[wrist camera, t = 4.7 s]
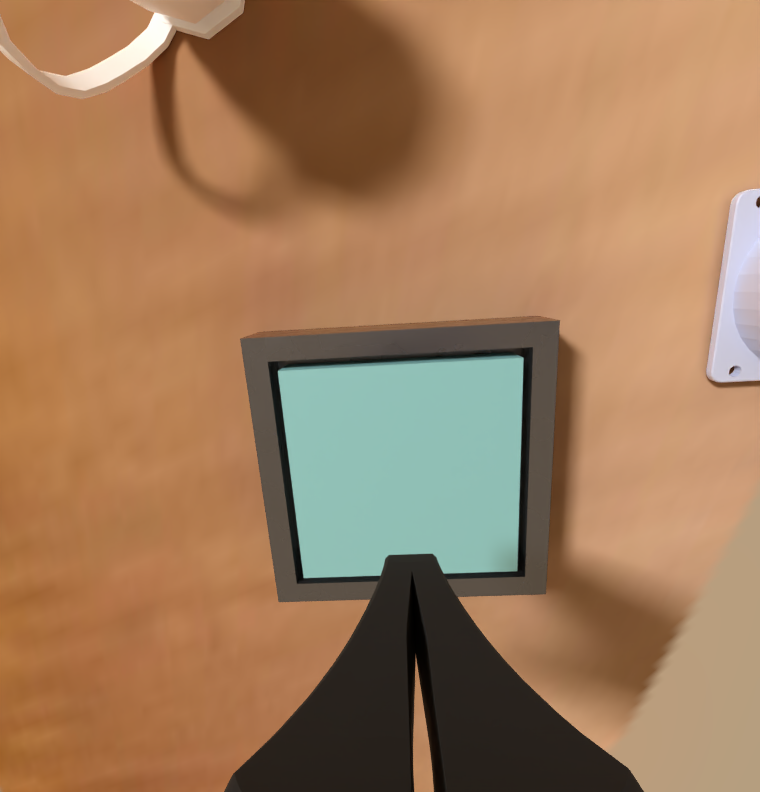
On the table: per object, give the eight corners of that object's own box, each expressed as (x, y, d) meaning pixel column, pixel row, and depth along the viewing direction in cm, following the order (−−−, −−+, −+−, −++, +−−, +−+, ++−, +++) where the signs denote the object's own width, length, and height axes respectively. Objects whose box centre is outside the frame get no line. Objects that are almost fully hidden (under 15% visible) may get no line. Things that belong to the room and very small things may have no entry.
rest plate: (513, 352, 18) (523, 357, 17) (508, 551, 21) (517, 571, 19) (286, 364, 18) (277, 371, 17) (309, 557, 21) (303, 578, 20)
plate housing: (538, 316, 19) (559, 320, 16) (528, 560, 22) (545, 594, 20) (259, 332, 19) (240, 338, 17) (290, 568, 23) (278, 602, 20)
